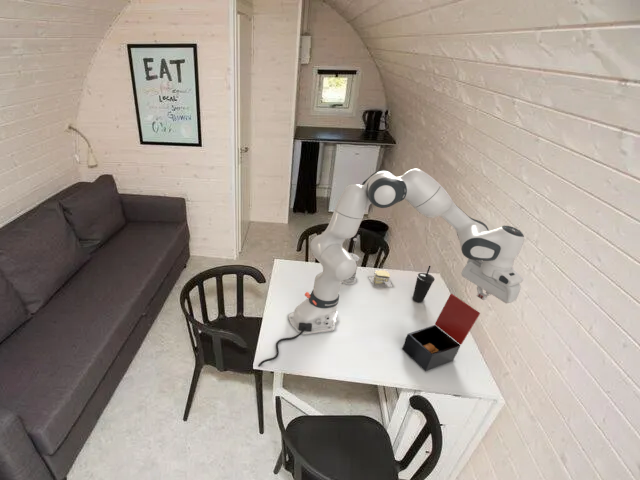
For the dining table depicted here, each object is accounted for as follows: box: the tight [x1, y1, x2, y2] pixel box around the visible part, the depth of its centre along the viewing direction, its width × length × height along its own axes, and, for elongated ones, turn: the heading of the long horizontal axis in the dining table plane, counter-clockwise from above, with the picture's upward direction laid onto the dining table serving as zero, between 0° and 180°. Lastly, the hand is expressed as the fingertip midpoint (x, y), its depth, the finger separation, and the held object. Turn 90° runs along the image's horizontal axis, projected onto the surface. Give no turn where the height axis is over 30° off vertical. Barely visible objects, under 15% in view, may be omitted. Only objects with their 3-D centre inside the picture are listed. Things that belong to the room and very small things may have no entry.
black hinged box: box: [401, 324, 462, 372], centre depth 143 cm, size 15×13×9 cm
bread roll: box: [423, 343, 439, 354], centre depth 143 cm, size 8×4×4 cm, turn 112°
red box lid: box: [434, 293, 481, 346], centre depth 139 cm, size 15×13×1 cm
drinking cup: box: [412, 265, 435, 304], centre depth 170 cm, size 8×8×20 cm
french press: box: [341, 237, 360, 285], centre depth 183 cm, size 10×12×25 cm
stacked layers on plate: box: [368, 269, 394, 288], centre depth 187 cm, size 10×9×6 cm
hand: (481, 297), depth 137 cm, fingers closed
